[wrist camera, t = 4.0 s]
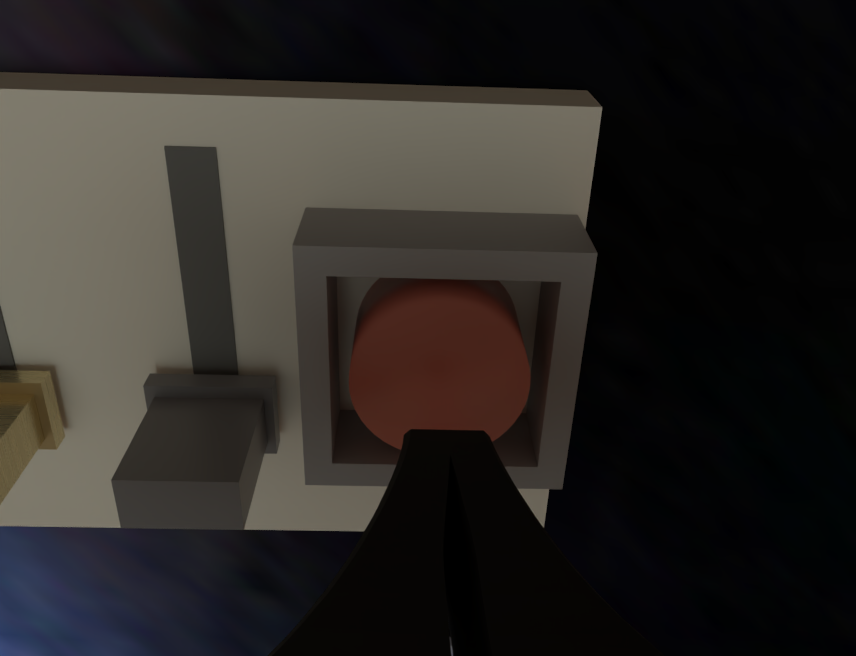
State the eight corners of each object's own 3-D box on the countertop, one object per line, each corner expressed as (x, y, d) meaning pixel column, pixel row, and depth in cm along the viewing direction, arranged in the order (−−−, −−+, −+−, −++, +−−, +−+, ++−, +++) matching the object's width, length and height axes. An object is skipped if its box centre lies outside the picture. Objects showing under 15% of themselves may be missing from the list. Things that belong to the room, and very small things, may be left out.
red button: (525, 258, 17) (539, 305, 15) (510, 399, 18) (521, 458, 16) (354, 253, 17) (346, 301, 15) (356, 396, 18) (349, 455, 16)
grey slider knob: (275, 375, 18) (248, 470, 15) (280, 440, 18) (255, 541, 16) (150, 373, 18) (97, 467, 15) (160, 438, 18) (113, 539, 16)
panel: (587, 90, 16) (627, 134, 13) (534, 495, 22) (555, 593, 19) (-192, 66, 16) (-336, 106, 13) (-52, 485, 21) (-130, 585, 18)
